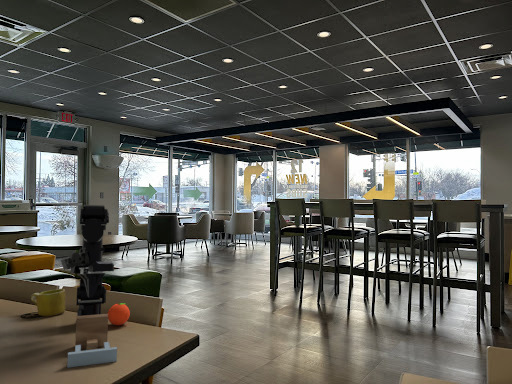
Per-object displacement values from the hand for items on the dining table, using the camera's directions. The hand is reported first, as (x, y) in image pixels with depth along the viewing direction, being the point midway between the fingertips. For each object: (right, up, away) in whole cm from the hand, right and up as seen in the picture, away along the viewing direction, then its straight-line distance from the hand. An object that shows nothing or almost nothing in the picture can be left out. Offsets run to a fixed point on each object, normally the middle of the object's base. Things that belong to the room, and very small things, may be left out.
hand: (90, 297), depth 117 cm
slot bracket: (+9, -10, -19) cm, 24 cm away
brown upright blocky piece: (+6, -11, -13) cm, 17 cm away
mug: (-26, -13, +24) cm, 37 cm away
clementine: (+5, -12, +11) cm, 17 cm away
